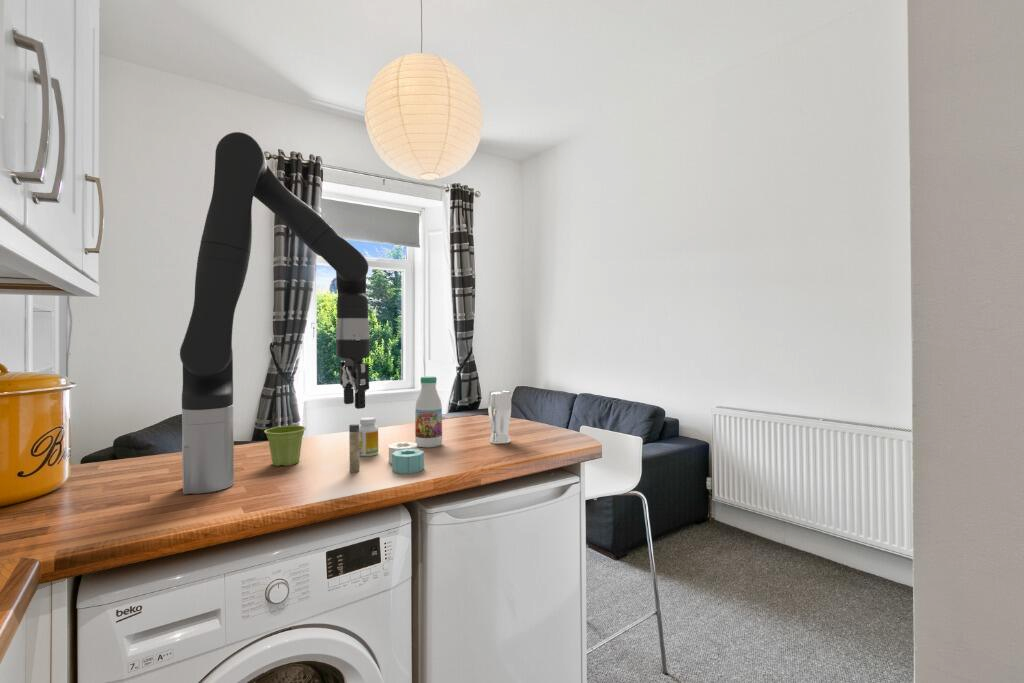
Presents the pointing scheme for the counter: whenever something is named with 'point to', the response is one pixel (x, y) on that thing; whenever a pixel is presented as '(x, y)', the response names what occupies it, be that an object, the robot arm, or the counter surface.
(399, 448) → the cream bead
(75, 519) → the counter surface
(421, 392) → the milk bottle
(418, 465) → the teal bead
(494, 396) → the beer glass
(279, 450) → the plant pot
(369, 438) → the supplement bottle
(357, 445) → the needle dowel
